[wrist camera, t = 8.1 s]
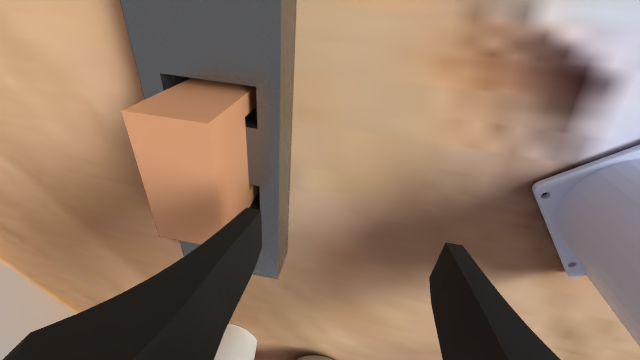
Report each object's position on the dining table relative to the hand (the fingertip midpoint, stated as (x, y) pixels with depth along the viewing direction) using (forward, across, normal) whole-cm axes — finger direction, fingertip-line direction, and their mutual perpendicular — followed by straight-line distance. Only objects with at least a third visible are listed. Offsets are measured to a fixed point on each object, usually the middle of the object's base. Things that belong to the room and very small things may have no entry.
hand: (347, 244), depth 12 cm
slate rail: (+9, +9, +1) cm, 13 cm away
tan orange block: (+9, +9, +1) cm, 13 cm away
